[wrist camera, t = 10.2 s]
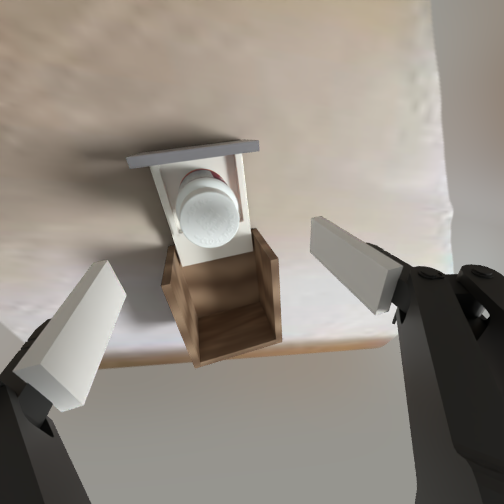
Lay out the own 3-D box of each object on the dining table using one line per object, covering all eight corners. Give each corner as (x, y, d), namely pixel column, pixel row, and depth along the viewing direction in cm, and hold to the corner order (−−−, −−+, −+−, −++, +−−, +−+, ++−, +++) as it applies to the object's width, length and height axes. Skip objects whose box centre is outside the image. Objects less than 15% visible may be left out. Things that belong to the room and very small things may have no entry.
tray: (139, 152, 25) (125, 157, 20) (244, 139, 27) (258, 140, 22) (176, 262, 33) (174, 288, 28) (255, 245, 35) (268, 265, 30)
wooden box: (168, 246, 32) (160, 286, 23) (256, 228, 34) (278, 258, 26) (193, 319, 40) (194, 368, 32) (263, 300, 42) (282, 341, 34)
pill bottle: (233, 205, 29) (254, 238, 20) (192, 221, 29) (193, 263, 19) (216, 159, 26) (232, 173, 17) (169, 177, 26) (158, 202, 16)
